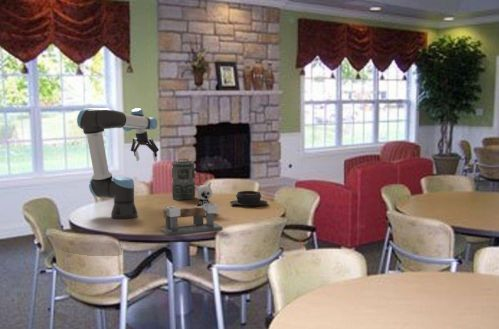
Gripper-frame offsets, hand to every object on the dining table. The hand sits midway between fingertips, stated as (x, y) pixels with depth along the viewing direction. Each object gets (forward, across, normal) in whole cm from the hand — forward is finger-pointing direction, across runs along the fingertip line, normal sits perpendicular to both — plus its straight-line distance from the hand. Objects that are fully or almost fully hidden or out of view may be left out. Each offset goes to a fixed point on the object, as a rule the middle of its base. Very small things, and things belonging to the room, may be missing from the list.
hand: (146, 160), depth 364 cm
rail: (+3, -56, +62) cm, 84 cm away
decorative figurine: (+18, -54, +35) cm, 67 cm away
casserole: (+30, -70, 0) cm, 76 cm away
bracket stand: (+5, -65, +73) cm, 98 cm away
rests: (+8, -56, +64) cm, 85 cm away
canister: (+32, -18, -8) cm, 38 cm away
